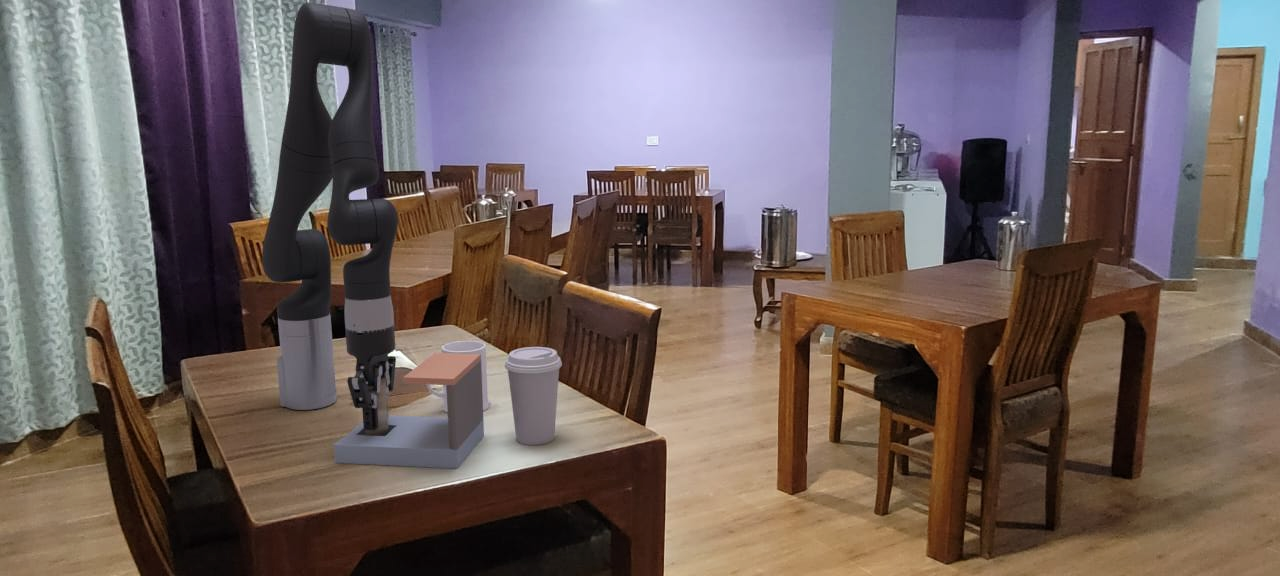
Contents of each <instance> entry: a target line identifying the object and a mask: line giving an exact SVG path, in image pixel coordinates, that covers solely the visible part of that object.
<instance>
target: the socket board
mask: <svg viewBox="0 0 1280 576" xmlns="http://www.w3.org/2000/svg"><path fill="white" fill-rule="evenodd" d="M402 383H403V385H404V384H405V385H407V384H408V385H426V384H429V385H430V386H431V385H434V386H436V385H437V386H443V385H446V388H447V409H448V413H447V417H440V416H439V417H438V416H419V415H418V416H415V415H414V416H411V415H391V414H390V415H389V414H388V427H389V433H388V434H387V435H386V436H370V435H366V430H365V429H364V425H363V421H362V422H360V423H359V424H358V425H356V426H355V427H354V428H353V429H352V430H350V431H349V432H348V433H347V434H346V435H344V436H343V437H342V438H340V439H339V440H337V442H335V444H333V451H334V453H333V454H334V463H335V464H353V465H354V464H356V465H373V466H374V465H377V466H378V465H379V466H395V467H396V466H397V467H419V468H420V467H421V468H440V469H441V468H442V469H459V468H460V467H461V465H462V464H463V463H464V461H465V460H466V459H467V457H469V455H470V454H471V453H472V451H473V450H474V449H476V446H478V444H479V442H481V440H482V439H483V438H484V437H485V427H484V426H485V423H484V411H483V395H482V370H481V354H457V353H442V352H434V353H432V355H430V356H428V358H426V359H425V360H424V361H422V362H421V363H419V365H417V366H416V367H415V368H413V369H412V370H410V372H408V373H407V374H405V375H404V376H403V377H402Z"/></svg>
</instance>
